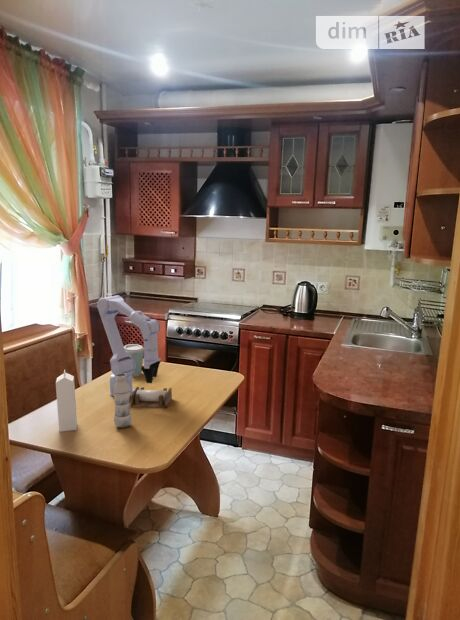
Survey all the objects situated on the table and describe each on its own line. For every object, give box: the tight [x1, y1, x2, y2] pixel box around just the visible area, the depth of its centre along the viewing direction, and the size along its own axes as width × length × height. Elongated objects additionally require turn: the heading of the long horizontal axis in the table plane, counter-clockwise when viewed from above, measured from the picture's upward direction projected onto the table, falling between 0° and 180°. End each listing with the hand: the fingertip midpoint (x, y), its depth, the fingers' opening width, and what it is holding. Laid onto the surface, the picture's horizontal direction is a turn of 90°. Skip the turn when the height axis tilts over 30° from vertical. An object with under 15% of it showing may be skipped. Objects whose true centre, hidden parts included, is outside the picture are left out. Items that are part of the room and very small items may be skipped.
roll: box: [136, 389, 168, 402], centre depth 191 cm, size 12×5×5 cm, turn 85°
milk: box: [55, 369, 78, 433], centre depth 166 cm, size 6×6×22 cm
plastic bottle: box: [113, 374, 133, 429], centre depth 167 cm, size 6×7×20 cm
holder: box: [129, 386, 173, 409], centre depth 191 cm, size 15×10×5 cm, turn 85°
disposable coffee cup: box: [123, 343, 144, 378], centre depth 225 cm, size 11×11×15 cm
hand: (151, 379), depth 190 cm, fingers open, 7 cm apart
